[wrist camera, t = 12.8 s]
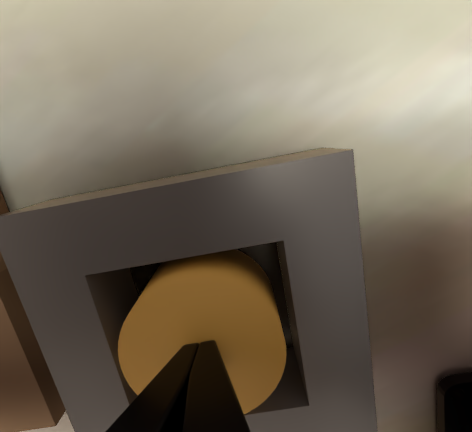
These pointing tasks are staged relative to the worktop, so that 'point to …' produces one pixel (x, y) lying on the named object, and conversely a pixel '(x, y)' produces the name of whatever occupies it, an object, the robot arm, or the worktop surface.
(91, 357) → the button collar
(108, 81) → the worktop surface
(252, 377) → the button
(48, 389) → the brown wooden rectangular frame
